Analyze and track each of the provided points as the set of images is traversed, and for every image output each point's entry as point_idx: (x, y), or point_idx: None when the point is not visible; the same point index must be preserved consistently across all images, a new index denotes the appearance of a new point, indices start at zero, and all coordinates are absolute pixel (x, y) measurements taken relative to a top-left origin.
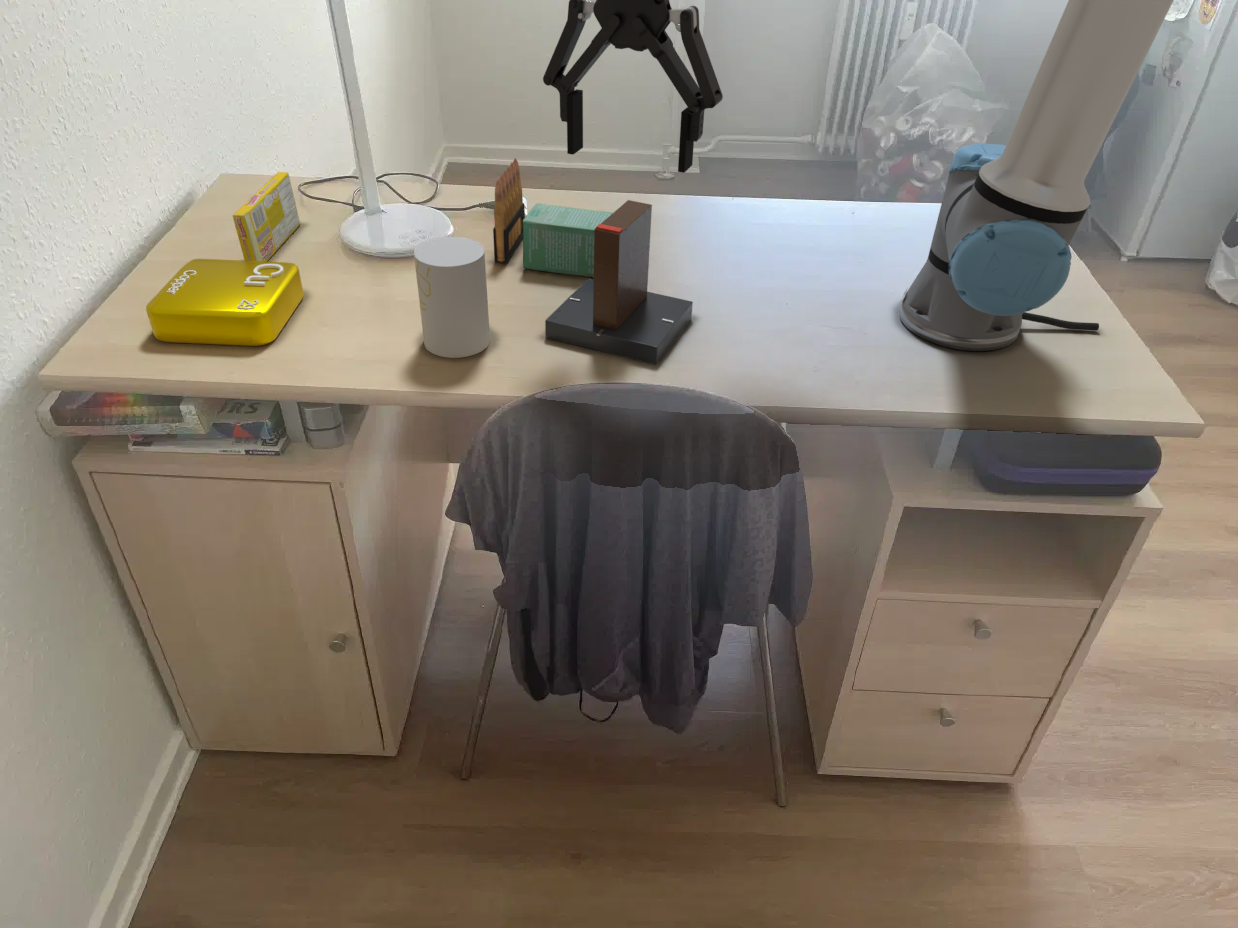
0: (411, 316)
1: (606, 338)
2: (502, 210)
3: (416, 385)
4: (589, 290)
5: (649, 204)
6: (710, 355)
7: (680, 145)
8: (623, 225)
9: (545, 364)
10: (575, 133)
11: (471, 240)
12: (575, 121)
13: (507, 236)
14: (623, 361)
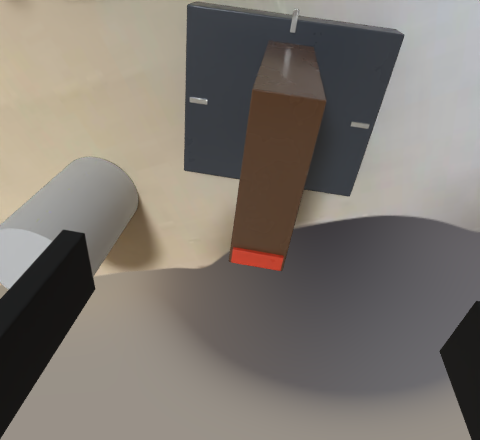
0: (15, 154)
1: None
2: None
3: (119, 267)
4: (207, 56)
5: (319, 103)
6: (424, 140)
7: (475, 437)
8: (280, 235)
9: (215, 211)
10: (60, 327)
11: (32, 234)
12: (33, 362)
13: None
14: None
